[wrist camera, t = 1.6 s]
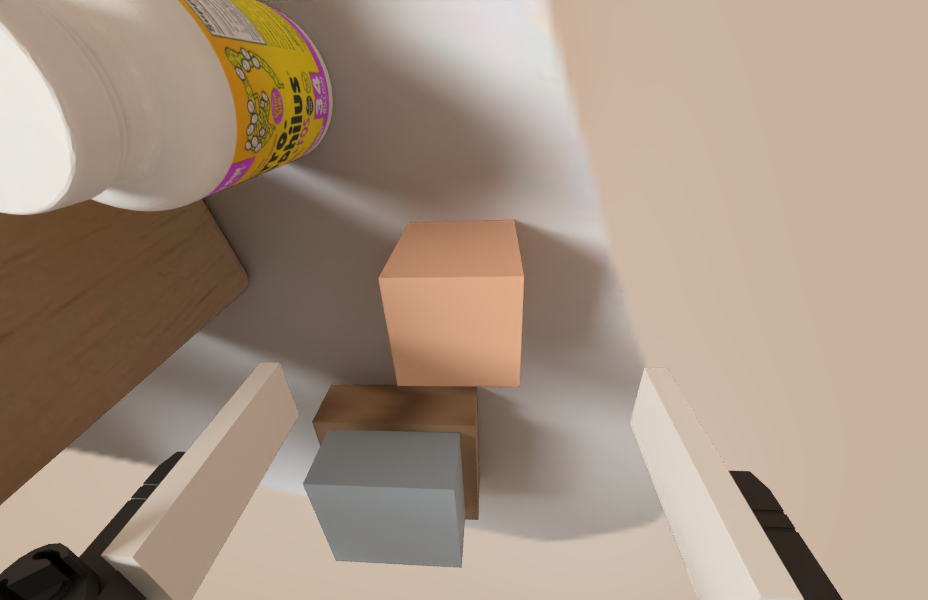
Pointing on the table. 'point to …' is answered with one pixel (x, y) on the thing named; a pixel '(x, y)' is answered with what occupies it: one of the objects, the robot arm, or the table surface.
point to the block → (96, 315)
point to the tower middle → (390, 496)
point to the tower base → (409, 419)
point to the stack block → (455, 304)
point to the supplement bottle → (151, 100)
